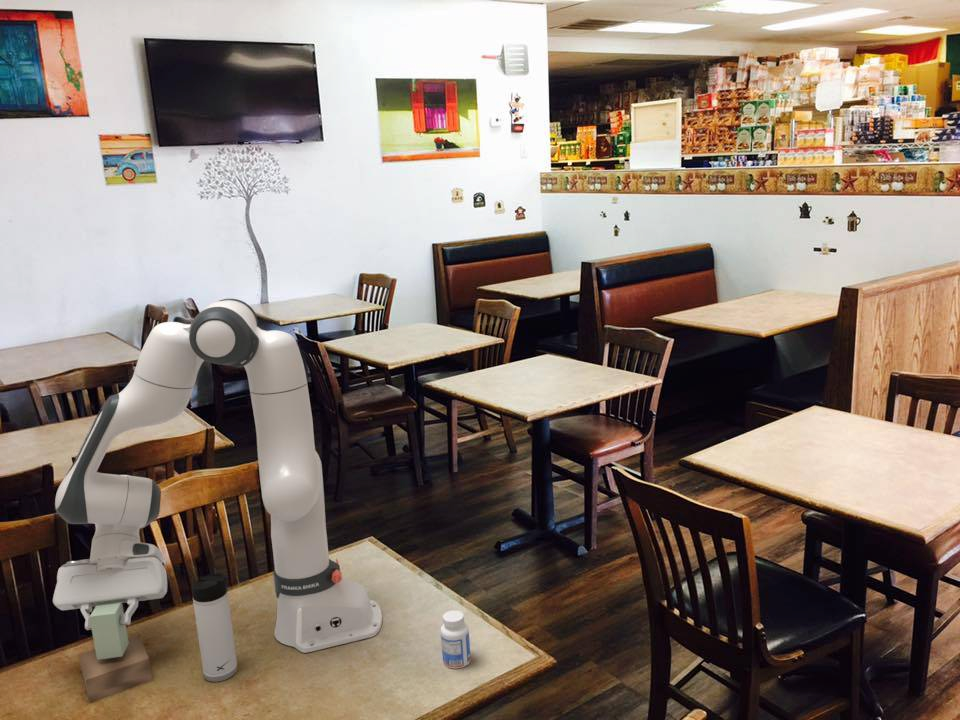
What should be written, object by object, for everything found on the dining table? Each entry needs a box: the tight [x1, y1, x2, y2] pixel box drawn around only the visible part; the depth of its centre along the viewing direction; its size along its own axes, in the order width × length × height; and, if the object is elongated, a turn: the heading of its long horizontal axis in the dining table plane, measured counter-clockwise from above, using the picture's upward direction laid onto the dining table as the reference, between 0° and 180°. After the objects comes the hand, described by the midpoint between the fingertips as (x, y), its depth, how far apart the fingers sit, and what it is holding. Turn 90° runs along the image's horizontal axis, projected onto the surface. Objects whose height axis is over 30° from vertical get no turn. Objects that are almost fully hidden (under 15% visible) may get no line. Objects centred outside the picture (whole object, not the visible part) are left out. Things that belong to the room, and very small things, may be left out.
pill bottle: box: [440, 609, 471, 670], centre depth 149 cm, size 6×5×10 cm
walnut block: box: [78, 634, 153, 703], centre depth 150 cm, size 11×10×5 cm
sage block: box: [89, 601, 129, 660], centre depth 148 cm, size 4×4×9 cm
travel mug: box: [190, 572, 238, 683], centre depth 148 cm, size 6×7×20 cm
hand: (107, 626), depth 147 cm, fingers open, 5 cm apart
